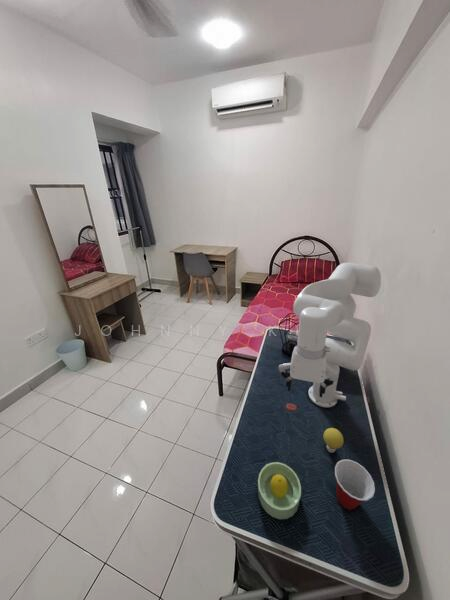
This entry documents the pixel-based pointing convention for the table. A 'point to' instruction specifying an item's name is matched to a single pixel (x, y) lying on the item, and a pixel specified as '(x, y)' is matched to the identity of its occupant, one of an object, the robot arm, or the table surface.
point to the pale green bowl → (271, 503)
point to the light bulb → (333, 439)
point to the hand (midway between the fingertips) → (304, 390)
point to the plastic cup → (353, 484)
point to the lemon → (279, 486)
